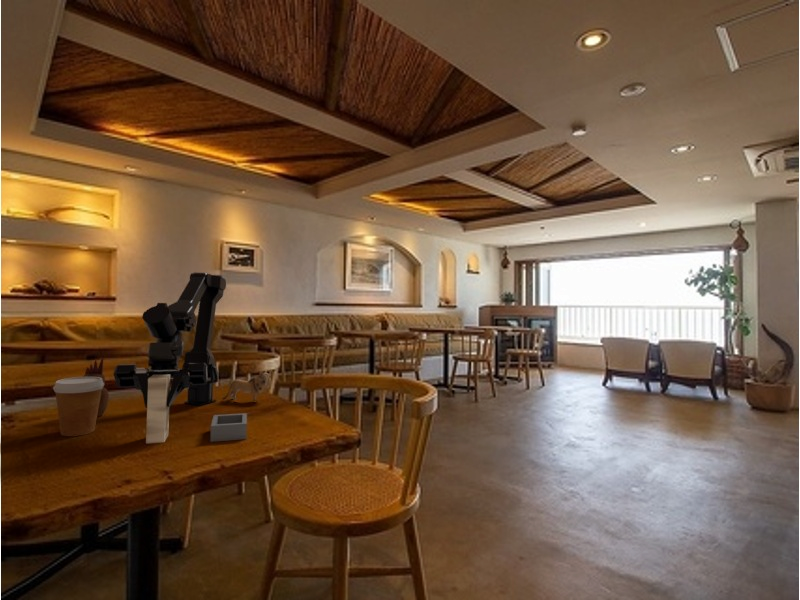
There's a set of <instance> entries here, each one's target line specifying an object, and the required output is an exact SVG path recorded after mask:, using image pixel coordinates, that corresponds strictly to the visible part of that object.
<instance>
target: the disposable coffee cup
mask: <svg viewBox="0 0 800 600" xmlns="http://www.w3.org/2000/svg"><path fill="white" fill-rule="evenodd" d="M104 386H105V382H104V383H103V380H102V378H100V377H83V376H77V377H67V378H62V379H59V380H56V381H55V384H54V386H52V390H53V391H54V392H55V398H56V406H57V407H56V408H57V415H58V422H59V424H58V425H59V430H60V431H59V432H60V435H61V436H63V437H75V436H83V435H87V434H91V433H93V432H95V430H96V423H97V419H98V417H97V414H98V408H99V403H100V397H101V391H102V388H103V387H104Z"/></svg>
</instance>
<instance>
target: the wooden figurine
mask: <svg viewBox="0 0 800 600" xmlns="http://www.w3.org/2000/svg"><path fill="white" fill-rule="evenodd" d="M82 377H100V378H102V380H103V383H104V384H105V381H106V380H105V379H106V378H105V375H104V358H101V360H100V363H99V365H98V361H97V360H94V364H90V366H87V367H86V369H85V373H84V375H83V376H82ZM109 394H110V393H109V391H108V390H107V388H106V387H104V386H103V388H102V391H101V397H100V403H99V408H98V414H97V418H98V417H101V416H103V415H104V414H105V412H106V411H107V409H108V404H109V401H110V399H109V398H110V395H109Z"/></svg>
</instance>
